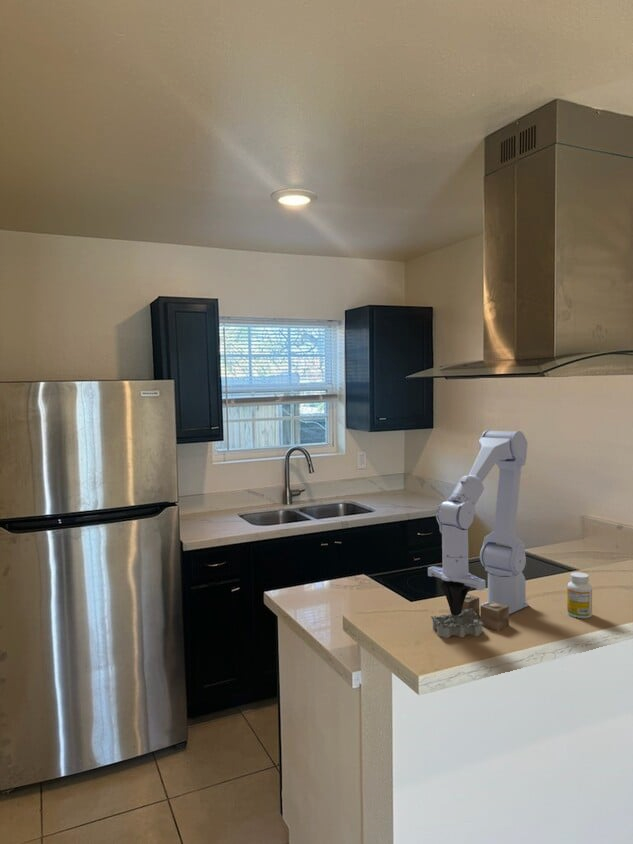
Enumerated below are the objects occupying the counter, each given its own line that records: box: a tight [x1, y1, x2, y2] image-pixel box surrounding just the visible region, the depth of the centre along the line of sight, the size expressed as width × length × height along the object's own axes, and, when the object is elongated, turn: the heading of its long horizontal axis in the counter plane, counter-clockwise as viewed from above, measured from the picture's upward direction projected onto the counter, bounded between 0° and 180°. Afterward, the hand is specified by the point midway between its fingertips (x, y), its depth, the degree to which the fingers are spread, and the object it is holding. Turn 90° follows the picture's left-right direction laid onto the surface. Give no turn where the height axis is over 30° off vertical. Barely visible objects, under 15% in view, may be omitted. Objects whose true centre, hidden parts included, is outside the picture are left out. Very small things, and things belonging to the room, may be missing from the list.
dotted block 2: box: [480, 601, 510, 631], centre depth 136 cm, size 4×4×5 cm
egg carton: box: [430, 608, 484, 639], centre depth 133 cm, size 11×8×4 cm
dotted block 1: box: [462, 593, 481, 617], centre depth 142 cm, size 4×4×5 cm
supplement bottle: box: [566, 571, 593, 619], centre depth 140 cm, size 5×5×10 cm
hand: (456, 613), depth 133 cm, fingers closed
